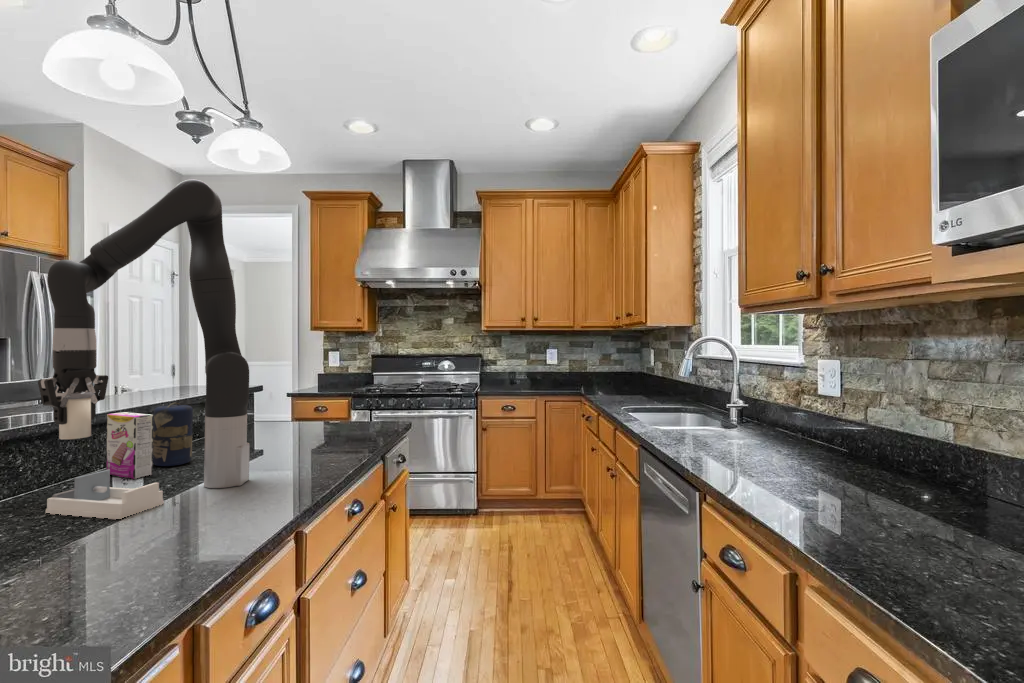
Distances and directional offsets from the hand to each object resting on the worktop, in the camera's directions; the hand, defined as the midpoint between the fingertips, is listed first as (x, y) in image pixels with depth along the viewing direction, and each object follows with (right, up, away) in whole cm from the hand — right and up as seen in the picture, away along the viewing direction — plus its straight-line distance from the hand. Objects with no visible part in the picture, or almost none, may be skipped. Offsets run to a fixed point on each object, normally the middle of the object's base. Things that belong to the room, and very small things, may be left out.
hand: (75, 421), depth 114 cm
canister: (+1, -18, +30) cm, 35 cm away
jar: (0, -4, 0) cm, 4 cm away
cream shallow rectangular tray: (+14, -17, -9) cm, 24 cm away
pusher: (+12, -16, -8) cm, 22 cm away
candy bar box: (-1, -17, +18) cm, 25 cm away
